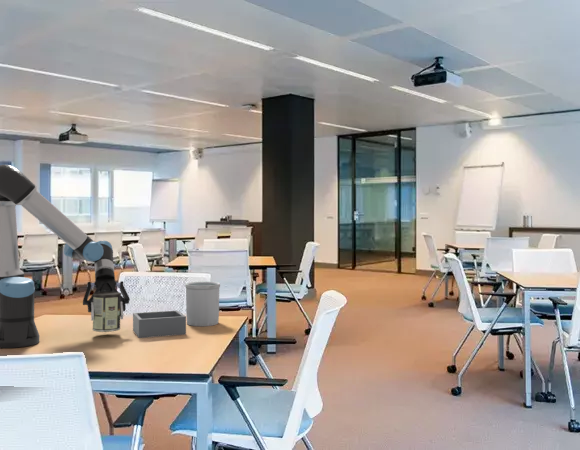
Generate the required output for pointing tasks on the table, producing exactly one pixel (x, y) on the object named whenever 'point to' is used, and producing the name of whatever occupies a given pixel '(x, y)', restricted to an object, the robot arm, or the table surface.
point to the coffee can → (106, 311)
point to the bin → (159, 324)
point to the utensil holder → (202, 303)
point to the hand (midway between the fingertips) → (107, 317)
